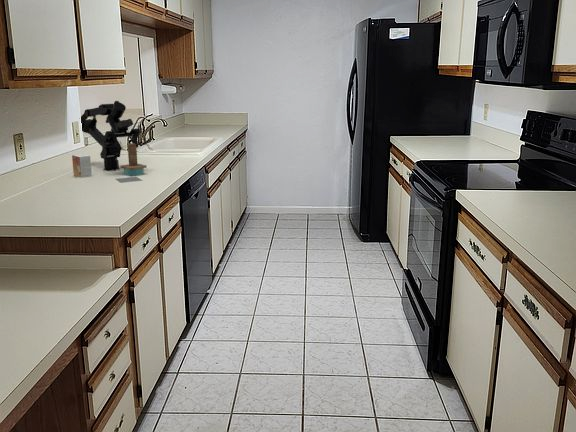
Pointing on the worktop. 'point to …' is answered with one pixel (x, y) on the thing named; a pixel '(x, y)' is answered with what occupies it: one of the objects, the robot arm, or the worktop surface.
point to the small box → (81, 165)
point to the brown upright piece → (132, 159)
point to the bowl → (133, 172)
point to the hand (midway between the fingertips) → (129, 148)
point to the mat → (128, 179)
